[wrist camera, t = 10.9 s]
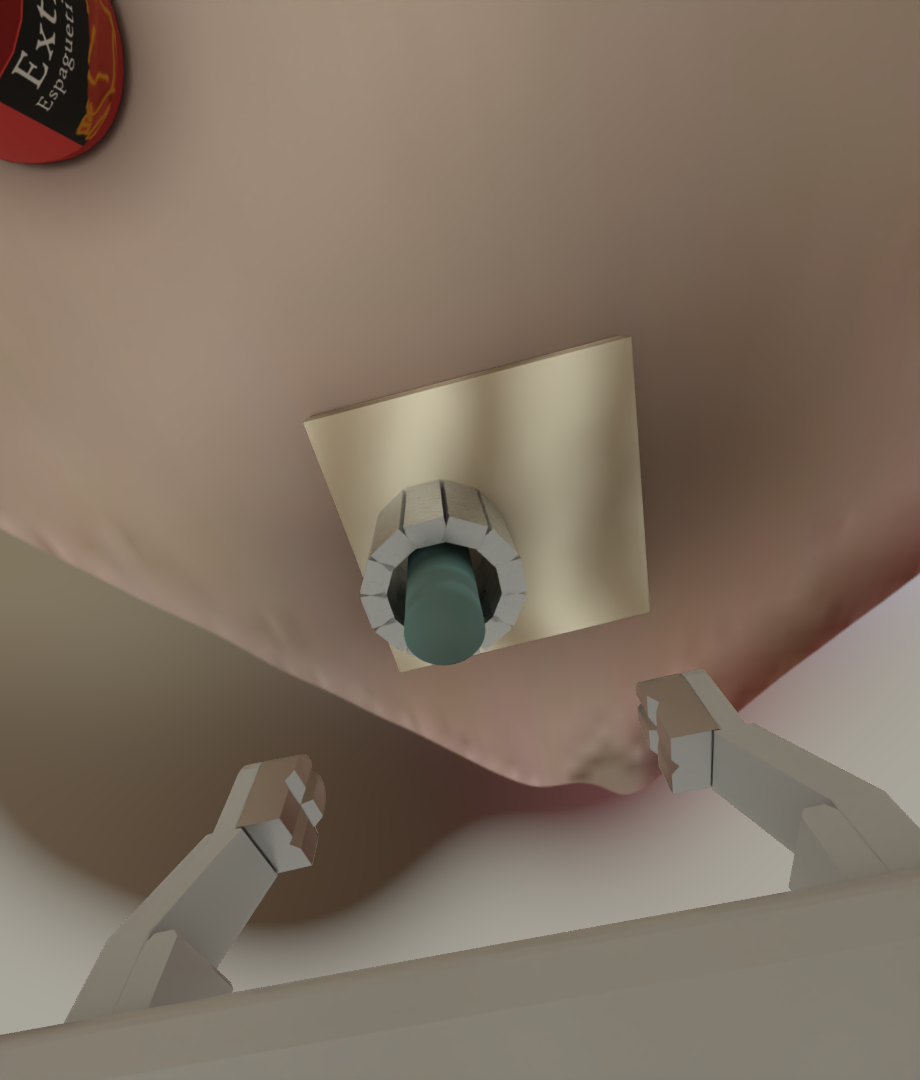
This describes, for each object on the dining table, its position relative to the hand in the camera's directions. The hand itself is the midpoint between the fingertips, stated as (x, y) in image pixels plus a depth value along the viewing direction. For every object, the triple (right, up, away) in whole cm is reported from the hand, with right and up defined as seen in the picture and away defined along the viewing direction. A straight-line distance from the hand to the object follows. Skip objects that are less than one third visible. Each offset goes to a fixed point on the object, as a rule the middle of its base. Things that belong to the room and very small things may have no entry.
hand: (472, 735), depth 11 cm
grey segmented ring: (-1, +4, +11) cm, 12 cm away
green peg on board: (+1, +6, +12) cm, 14 cm away
